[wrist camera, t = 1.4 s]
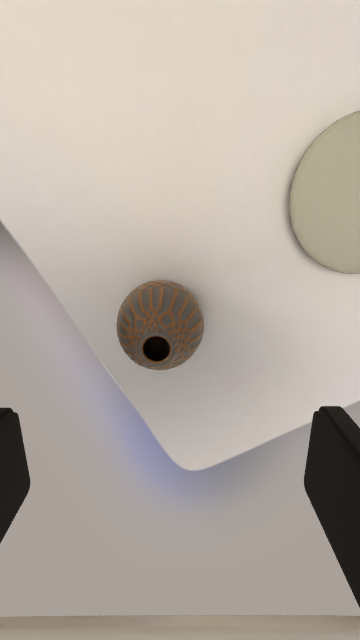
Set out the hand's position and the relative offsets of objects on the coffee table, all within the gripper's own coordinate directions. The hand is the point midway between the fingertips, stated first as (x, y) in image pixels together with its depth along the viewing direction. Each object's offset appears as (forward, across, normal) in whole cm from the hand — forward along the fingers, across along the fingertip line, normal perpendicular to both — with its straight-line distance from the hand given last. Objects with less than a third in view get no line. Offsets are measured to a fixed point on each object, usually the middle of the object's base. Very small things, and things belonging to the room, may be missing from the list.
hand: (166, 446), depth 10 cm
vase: (+20, +1, +1) cm, 20 cm away
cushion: (+20, -15, -8) cm, 26 cm away
